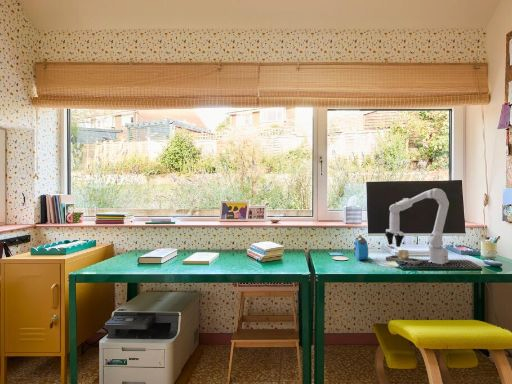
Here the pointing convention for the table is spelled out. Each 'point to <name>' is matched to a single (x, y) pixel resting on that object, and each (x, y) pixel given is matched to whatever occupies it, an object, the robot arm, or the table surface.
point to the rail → (394, 258)
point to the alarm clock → (361, 248)
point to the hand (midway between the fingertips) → (394, 245)
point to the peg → (403, 254)
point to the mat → (392, 264)
